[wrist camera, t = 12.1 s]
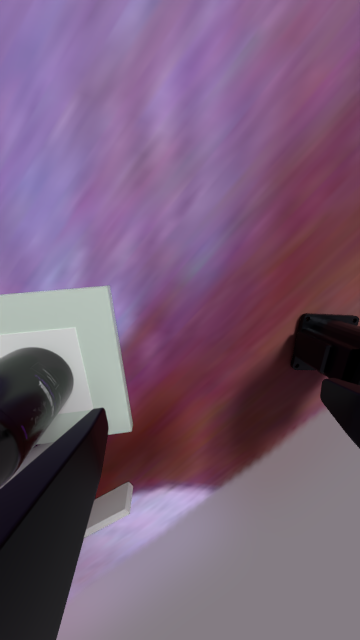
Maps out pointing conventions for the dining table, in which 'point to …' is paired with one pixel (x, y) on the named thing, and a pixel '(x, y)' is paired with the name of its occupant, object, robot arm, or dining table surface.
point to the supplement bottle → (29, 402)
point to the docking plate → (73, 349)
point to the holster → (103, 507)
